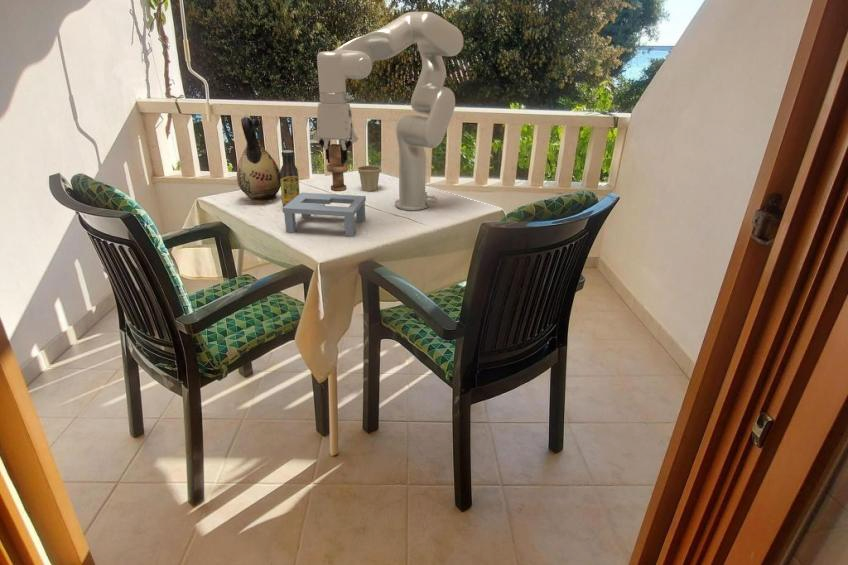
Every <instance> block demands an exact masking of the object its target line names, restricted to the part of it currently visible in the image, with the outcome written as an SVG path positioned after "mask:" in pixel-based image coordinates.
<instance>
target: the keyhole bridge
mask: <svg viewBox="0 0 848 565" xmlns="http://www.w3.org/2000/svg"><path fill="white" fill-rule="evenodd" d="M299 193H300V194H299V195H298V196H297V197H295V198H294V199H293V200H292V201H290V202H289V203H288V204H287V205H285V206H284V207H283V206H282V208H281V209H282V210H281V211H282V213H283V214H284V215H283V216H284V225H285V231H286V233H293V234H294V233H295V232H296V231H297V224H296V223H297V222H296V214H297V215H300V214H301V218H302V219H310V217H312V215H315V216H317V215H318V216H333V217H334V216H335V217H343V218H344V233H345V235H344V236H345V237H350V238H354V236H355V234H356V225H355V223H356V222H362V223H363V222H365V221H366V201H367V198H366V197H367V195H356V194H355V195H353V194H351V195H350V194H335V193H334V194H333V193H319V192H299ZM330 204H347V205H348V204H349V206H336V205H335V206H332V205H330ZM355 215H356V222H355Z"/></svg>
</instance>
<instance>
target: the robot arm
mask: <svg viewBox="0 0 848 565" xmlns="http://www.w3.org/2000/svg"><path fill="white" fill-rule="evenodd" d="M416 43H417V49H418V52H419V54H420V58H421V72H420V74H419V78H418V79H417V82H416V85H415V88H414V90H413V93H412V96H411V99H410V100H411V101H410V106H411V109H412V110H413V111H414V112H415V113H418V114H420V115H421V116H420V115H417V114H416V115H413V114H407V115H403V116H401V117H400V118H399V119H398V121H397V123H396V127H395V134H396V139H397V144H398V145H397V146H398V190H399V194H398V195H399V198H398V199H397V200H395V202H394V206H395V207H396V208H398V209H400V210H404V211H422V210H425V208H426V209H427V208H429V206H430V203H432V204H438V197H435V195H434V196H433V195H431V196H430V195H429V194H428V192H427V191H426V178H427V177H426V176H427V175H426V174H427V172H426V170H427V156H426V151H425V148H426V149H427V148H429V149H435V148H437V147H438V146H439V145H441V143H442V141H443V139H444V137H445V136H446V133H447V130H448V128H449V125H450V122H451V119H452V117H453V114H454V112H455V107H456V97H455V93H454V92H453V91H452V89H451V88H449V87H447V86H444V84H445V81H446V77H447V70H446V65H445V62H444V58H443V57H455V56H457V55H458V54H459V53H460V52H462V49H463V47H464V37H463V34H462V31H461V30H460V29H459V28H458V27H457V26H456V25H454V24H452V23H450V22H449V21H447V19H444V18H443V17H441V16H440V15H438V14H436V13H435V12H431V11H409V12H406V13H403V14H401V15H400V16H399V17H396V18H395V19H393V20H391V21H390V22H389V23H387V24H386V25H384V26H382V27H381V28H378V29H376V30H373V31H371V32H368V33H367V34H363V35H361V36H358V37H356V38H353V39H351V40H349V41H347V42H345V43H343V44H342V45H341V46H339V47H336V48H335V49H334V50H333V51H332V50H331V51H330V50H329V51H320V52H318V53H317V56H316V60H317V61H316V64H317V65H316V66H317V76H318V90H319V91H318V92H319V103H318V104H317V111H316V113H317V114H316V131H315V133H314V135H313V137H312V139H313V140H314V141H316V142H317V143H319V144H320V146H322V148H323V149H324V150H325V159H326V160H327V164H330V161H329V146H330V145H331V144H332V143H331V141H332V140H338V141H339V140H340V144H341V145H342V150H341V162H342V164H344V163H345V164H346V163H347V161H348V159H349V158H348V149H349V147H351V145H353V144H354V143H356V142H357V141H359V137H358V136H357V134H356V132H355V131H354V122H353V121H354V120H353V116H352V115H353V114H352V109H351V108H352V107H351V104H350V103H347V102H348V101H351V100H352V95H351V94H348V93H347V86H346V79H351V80H362V79H365V78H368V76H369V75H370V74H371V73H372V69H373V61H375V62H376V61H382V60H383V61H384V60H387V59H391V58H393V57H395V56H397V55H398V54H399V53H401V52H402V51H404V50H406V49H407V48H409V47H410V46H412V45H413V44H416ZM422 115H425V116H422ZM426 116H428V117H426ZM350 138H351V139H350ZM421 209H422V210H421Z"/></svg>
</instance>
